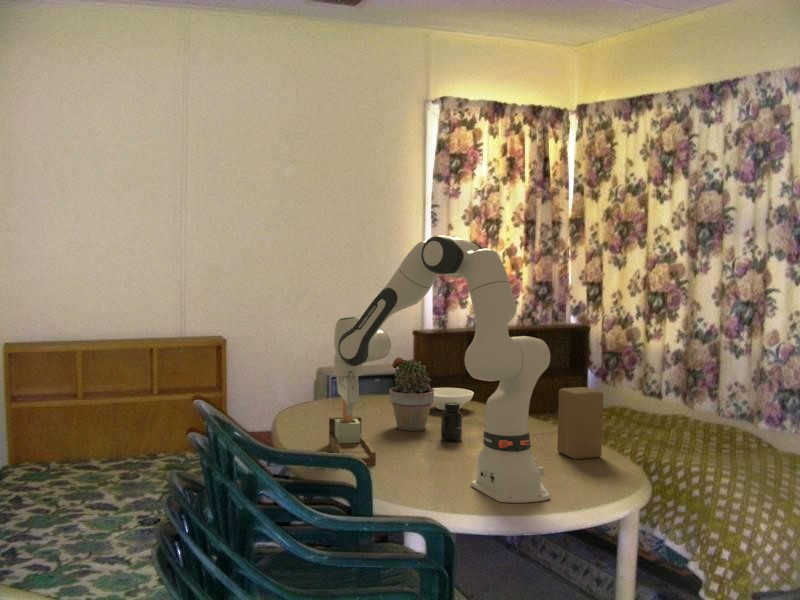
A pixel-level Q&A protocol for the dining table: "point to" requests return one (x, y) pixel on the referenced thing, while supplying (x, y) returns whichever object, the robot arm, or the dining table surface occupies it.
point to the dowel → (346, 417)
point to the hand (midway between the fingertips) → (347, 413)
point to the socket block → (347, 431)
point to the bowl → (451, 396)
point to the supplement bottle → (451, 423)
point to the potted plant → (411, 395)
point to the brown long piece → (352, 445)
